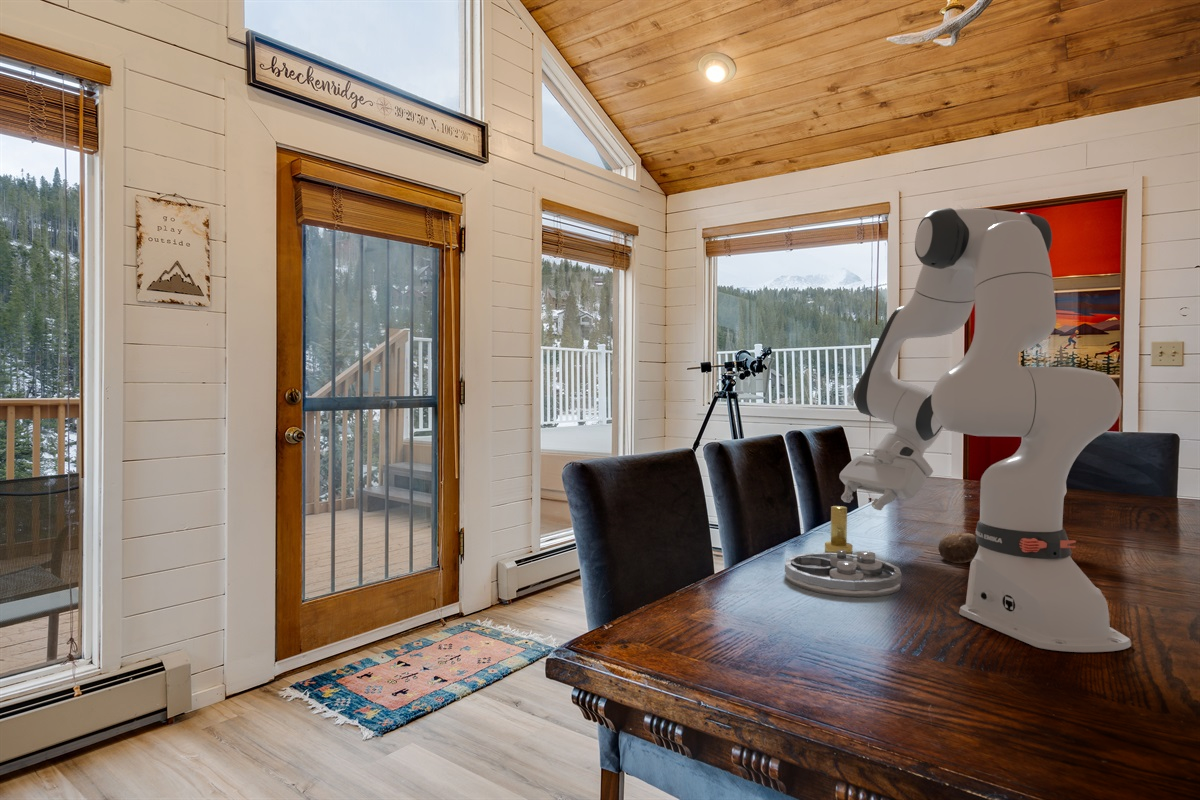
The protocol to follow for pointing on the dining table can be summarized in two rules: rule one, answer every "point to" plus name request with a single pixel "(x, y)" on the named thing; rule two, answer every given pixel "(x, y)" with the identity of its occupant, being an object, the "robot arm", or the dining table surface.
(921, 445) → the robot arm
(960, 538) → the brown rounded lump
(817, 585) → the carrier
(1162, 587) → the dining table surface
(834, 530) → the yellow peg
